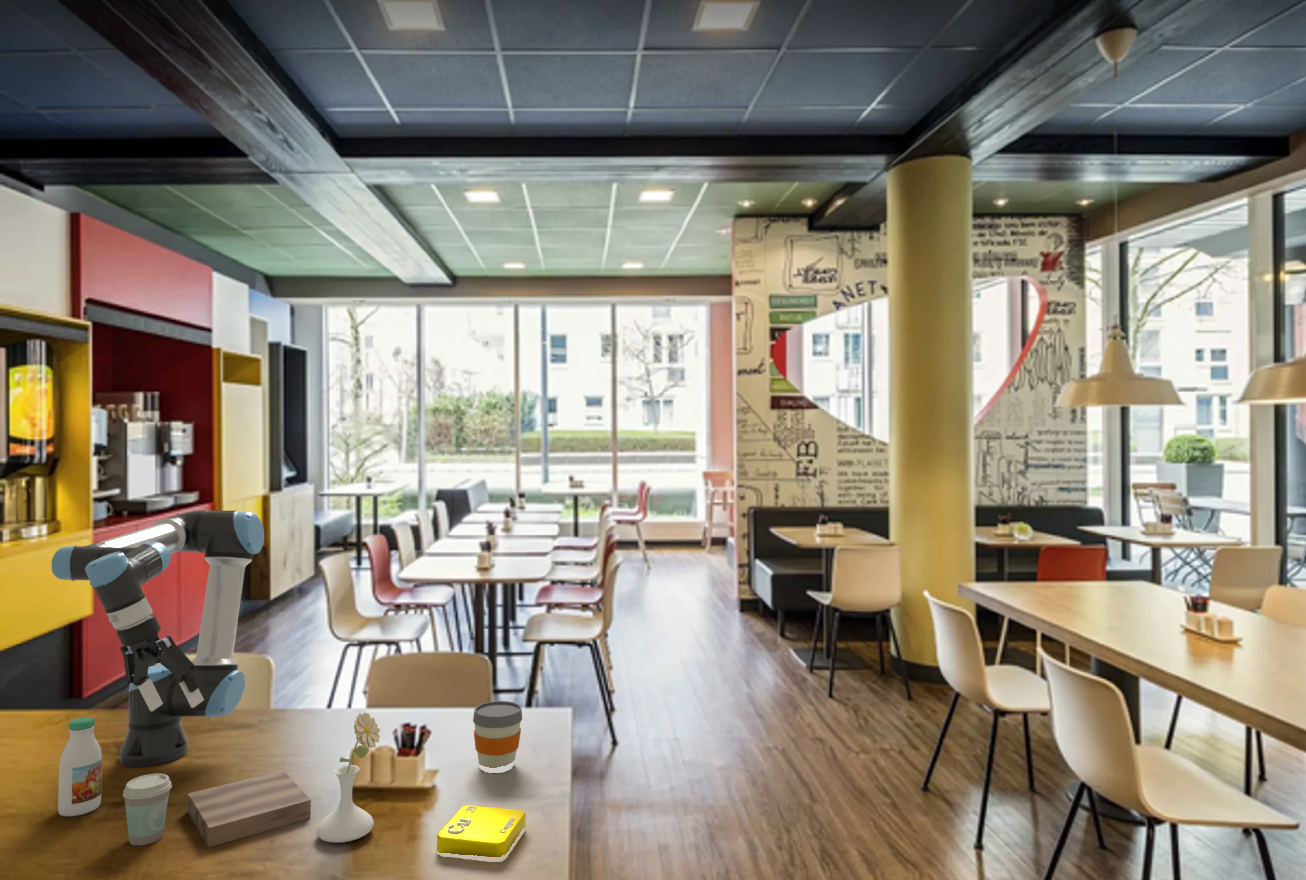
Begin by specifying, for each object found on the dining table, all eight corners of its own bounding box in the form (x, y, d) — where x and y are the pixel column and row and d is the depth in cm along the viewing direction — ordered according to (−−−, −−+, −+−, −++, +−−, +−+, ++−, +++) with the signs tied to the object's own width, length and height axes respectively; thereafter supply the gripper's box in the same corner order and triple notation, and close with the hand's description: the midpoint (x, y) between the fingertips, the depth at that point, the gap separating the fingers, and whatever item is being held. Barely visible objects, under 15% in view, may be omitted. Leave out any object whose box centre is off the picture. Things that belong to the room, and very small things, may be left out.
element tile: (503, 866, 155) (503, 841, 155) (432, 857, 157) (433, 833, 157) (527, 829, 169) (528, 807, 169) (463, 822, 172) (463, 800, 172)
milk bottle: (54, 820, 168) (56, 727, 168) (62, 805, 175) (64, 716, 175) (97, 813, 172) (100, 722, 172) (103, 798, 178) (105, 711, 179)
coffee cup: (146, 851, 156) (148, 791, 156) (110, 846, 158) (112, 787, 158) (180, 831, 165) (181, 774, 165) (146, 826, 166) (147, 770, 166)
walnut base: (187, 811, 173) (187, 793, 173) (282, 786, 187) (282, 770, 187) (208, 847, 158) (209, 827, 158) (310, 817, 172) (310, 799, 172)
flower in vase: (338, 854, 157) (342, 730, 157) (304, 838, 163) (307, 719, 163) (391, 828, 168) (394, 712, 168) (357, 813, 174) (360, 702, 174)
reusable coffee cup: (461, 771, 198) (463, 712, 198) (489, 753, 209) (491, 698, 209) (503, 780, 193) (505, 720, 193) (530, 761, 205) (531, 704, 205)
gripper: (82, 636, 169) (125, 719, 173) (157, 625, 159) (201, 713, 164) (114, 618, 175) (155, 698, 180) (188, 606, 166) (229, 691, 171)
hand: (177, 705), depth 172 cm, fingers open, 13 cm apart
